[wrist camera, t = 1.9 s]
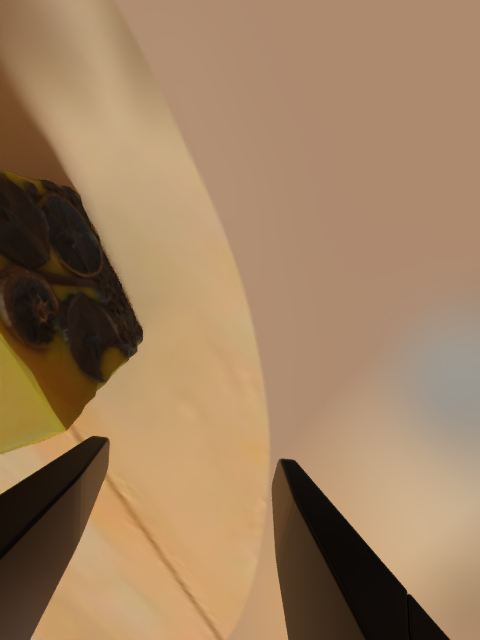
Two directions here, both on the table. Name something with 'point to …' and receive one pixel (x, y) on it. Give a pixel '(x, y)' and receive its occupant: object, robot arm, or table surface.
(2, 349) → the spotted yellow cube
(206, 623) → the table surface
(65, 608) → the table surface
